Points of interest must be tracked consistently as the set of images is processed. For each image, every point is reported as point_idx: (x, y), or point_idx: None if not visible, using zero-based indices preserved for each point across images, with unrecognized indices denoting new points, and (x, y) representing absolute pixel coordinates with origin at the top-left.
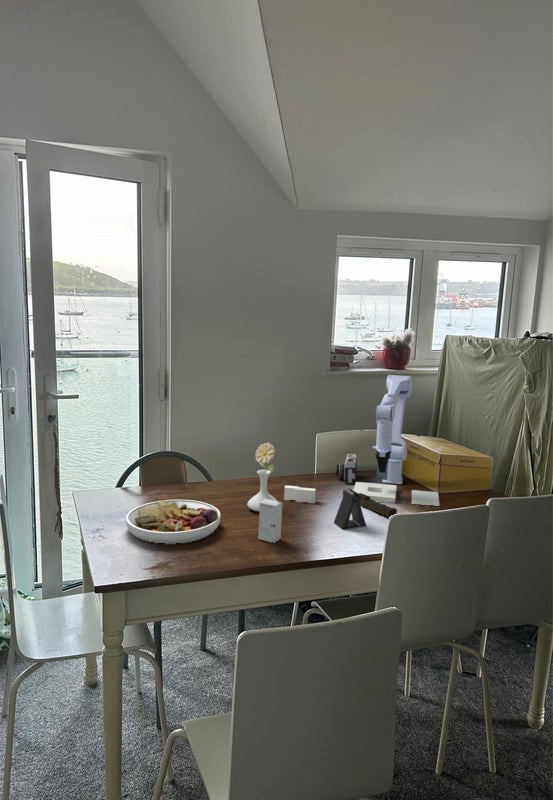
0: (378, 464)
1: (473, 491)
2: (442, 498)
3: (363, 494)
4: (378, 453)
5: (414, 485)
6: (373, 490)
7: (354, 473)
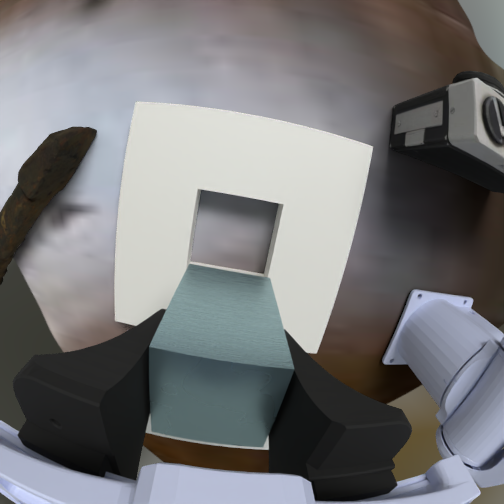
0: (117, 337)
1: None
2: (224, 448)
3: (41, 164)
4: (315, 425)
5: None
6: (274, 231)
7: (423, 141)
